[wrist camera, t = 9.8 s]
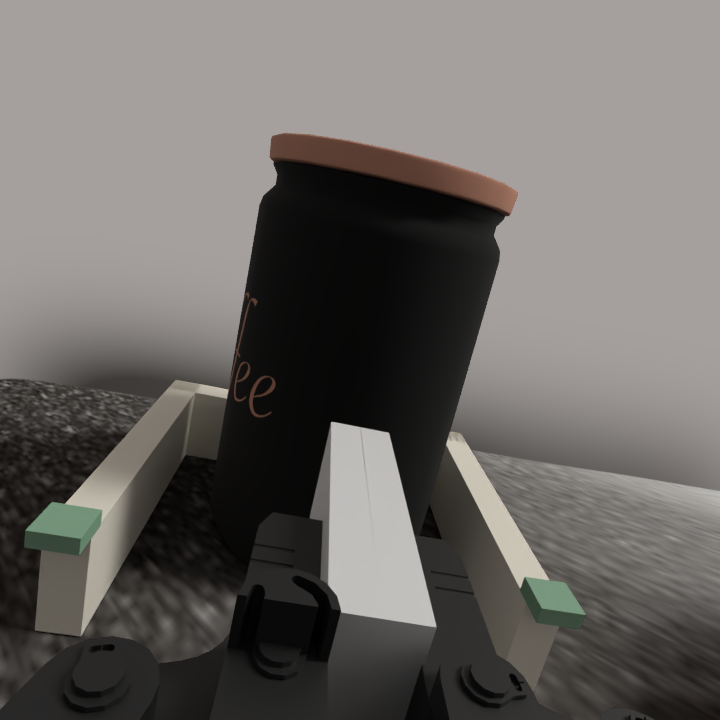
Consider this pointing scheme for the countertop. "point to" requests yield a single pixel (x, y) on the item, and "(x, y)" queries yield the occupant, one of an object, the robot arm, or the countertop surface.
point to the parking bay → (201, 439)
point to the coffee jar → (352, 321)
